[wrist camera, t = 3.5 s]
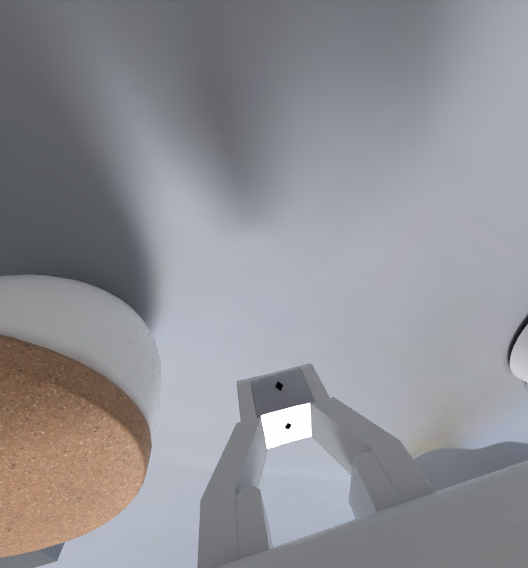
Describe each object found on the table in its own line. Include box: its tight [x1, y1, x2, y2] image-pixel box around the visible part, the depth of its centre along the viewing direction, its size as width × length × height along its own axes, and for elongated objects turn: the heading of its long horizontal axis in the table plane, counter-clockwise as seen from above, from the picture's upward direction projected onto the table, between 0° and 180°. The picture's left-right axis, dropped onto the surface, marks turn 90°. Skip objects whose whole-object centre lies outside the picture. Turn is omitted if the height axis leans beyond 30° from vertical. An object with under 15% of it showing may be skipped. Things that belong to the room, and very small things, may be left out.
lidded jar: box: [0, 274, 161, 558], centre depth 10 cm, size 11×11×9 cm
